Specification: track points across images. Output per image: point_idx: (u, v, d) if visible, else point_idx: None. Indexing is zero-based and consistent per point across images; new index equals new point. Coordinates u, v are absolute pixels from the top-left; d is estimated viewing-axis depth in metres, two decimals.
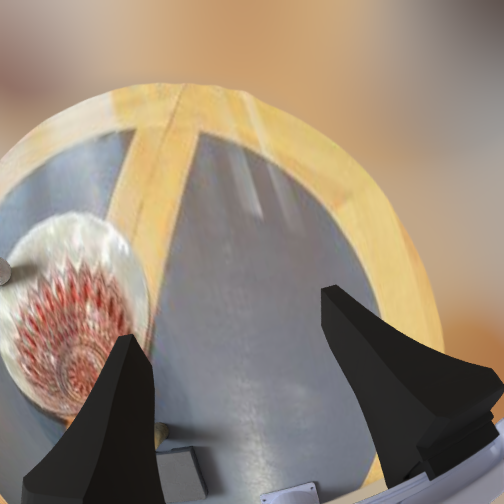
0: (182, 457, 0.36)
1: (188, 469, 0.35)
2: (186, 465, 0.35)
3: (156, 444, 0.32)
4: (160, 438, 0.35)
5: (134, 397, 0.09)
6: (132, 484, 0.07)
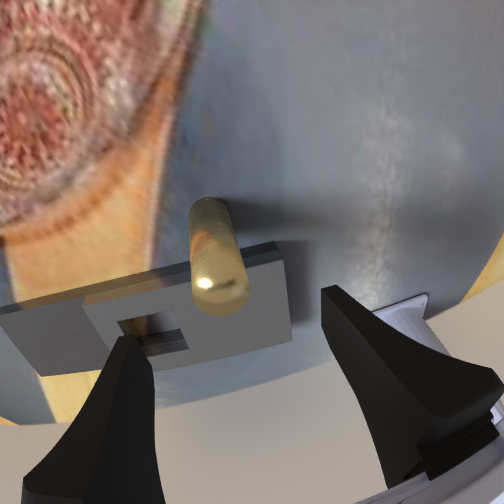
0: (265, 273, 0.21)
1: (273, 295, 0.22)
2: (271, 288, 0.22)
3: None
4: None
5: (134, 397, 0.09)
6: (132, 484, 0.07)
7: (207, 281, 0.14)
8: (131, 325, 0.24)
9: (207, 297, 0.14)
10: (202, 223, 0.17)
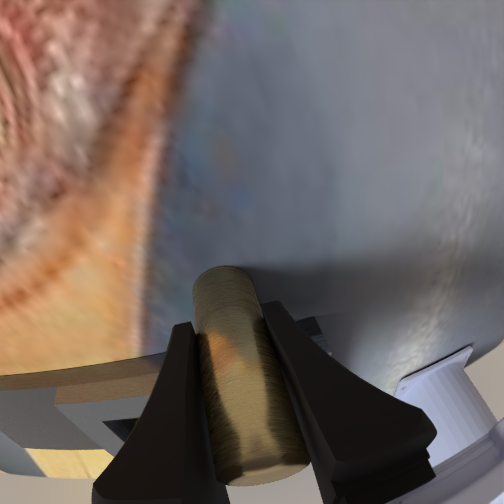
0: None
1: None
2: None
3: None
4: None
5: (198, 386, 0.10)
6: (207, 477, 0.07)
7: (242, 467, 0.07)
8: None
9: (240, 477, 0.07)
10: (219, 329, 0.10)
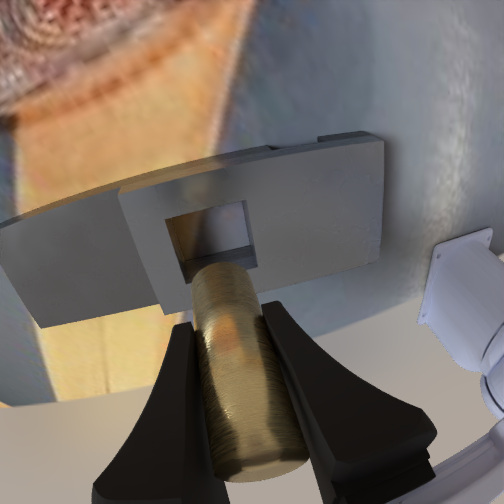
0: (365, 156, 0.16)
1: (369, 189, 0.17)
2: (368, 178, 0.17)
3: None
4: None
5: (198, 386, 0.10)
6: (207, 477, 0.07)
7: (242, 461, 0.07)
8: (176, 239, 0.18)
9: (238, 472, 0.07)
10: (220, 323, 0.10)
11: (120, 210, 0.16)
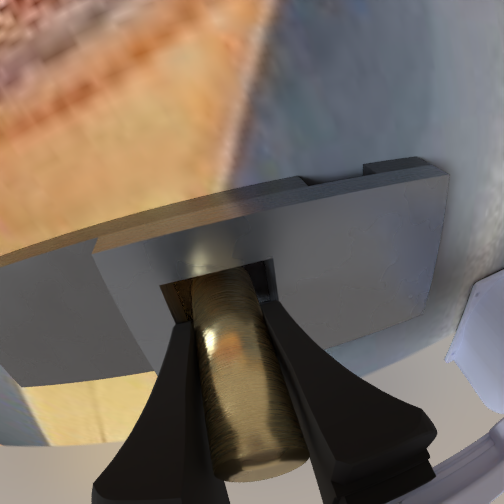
0: (426, 196, 0.12)
1: (425, 235, 0.13)
2: (426, 223, 0.12)
3: None
4: None
5: (197, 386, 0.10)
6: (207, 477, 0.07)
7: (242, 461, 0.07)
8: (176, 299, 0.14)
9: (238, 472, 0.07)
10: (220, 323, 0.10)
11: None
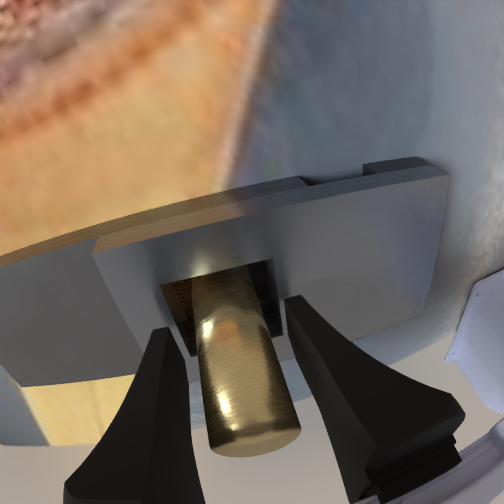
0: (426, 196, 0.12)
1: (425, 236, 0.13)
2: (426, 223, 0.12)
3: None
4: (271, 340, 0.11)
5: (173, 390, 0.09)
6: (178, 481, 0.07)
7: (236, 431, 0.07)
8: (176, 299, 0.14)
9: (233, 444, 0.08)
10: (217, 304, 0.11)
11: None
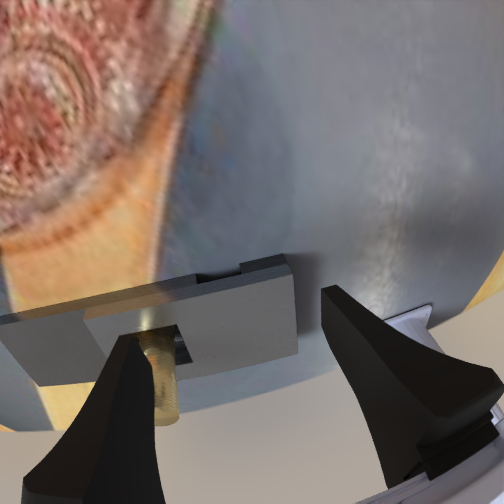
0: (274, 288, 0.20)
1: (281, 309, 0.21)
2: (279, 302, 0.21)
3: None
4: (175, 368, 0.20)
5: (134, 397, 0.09)
6: (132, 484, 0.07)
7: None
8: None
9: None
10: (147, 347, 0.20)
11: None
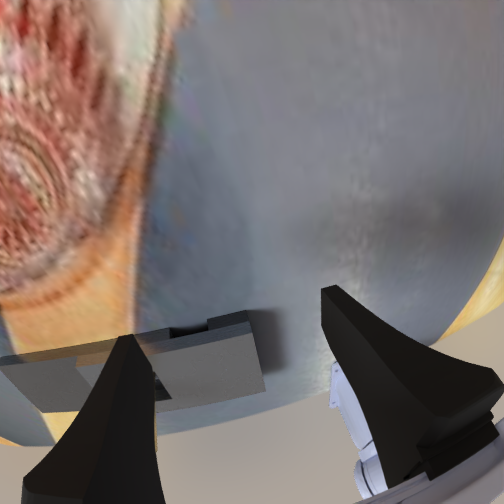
0: (236, 344, 0.22)
1: (245, 359, 0.24)
2: (242, 354, 0.23)
3: (156, 432, 0.20)
4: (155, 407, 0.22)
5: (134, 397, 0.09)
6: (132, 484, 0.07)
7: None
8: None
9: None
10: None
11: None
